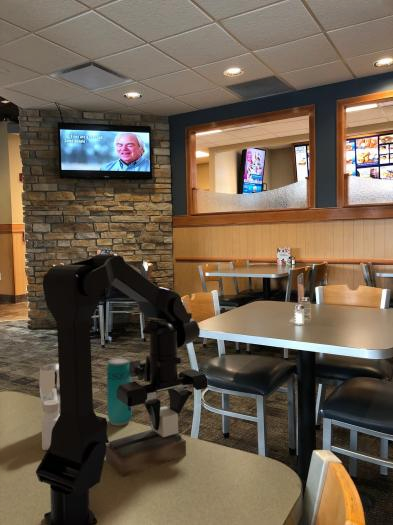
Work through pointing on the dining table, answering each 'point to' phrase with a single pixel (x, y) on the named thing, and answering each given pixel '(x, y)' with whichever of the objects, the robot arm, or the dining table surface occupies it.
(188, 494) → the dining table surface
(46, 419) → the pepper shaker
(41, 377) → the metal cup
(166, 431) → the block
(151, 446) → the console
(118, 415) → the beverage can
